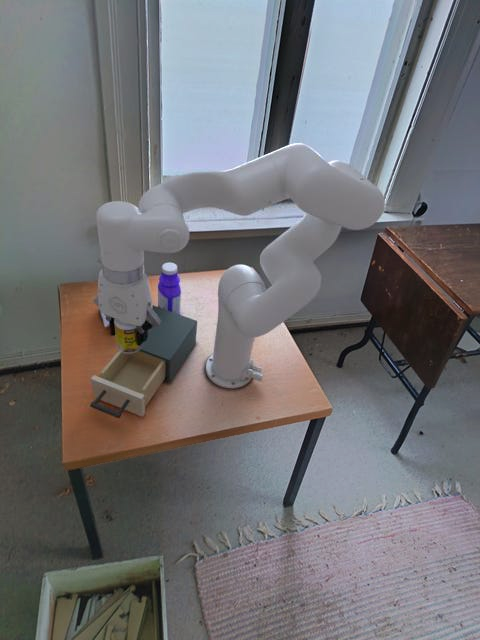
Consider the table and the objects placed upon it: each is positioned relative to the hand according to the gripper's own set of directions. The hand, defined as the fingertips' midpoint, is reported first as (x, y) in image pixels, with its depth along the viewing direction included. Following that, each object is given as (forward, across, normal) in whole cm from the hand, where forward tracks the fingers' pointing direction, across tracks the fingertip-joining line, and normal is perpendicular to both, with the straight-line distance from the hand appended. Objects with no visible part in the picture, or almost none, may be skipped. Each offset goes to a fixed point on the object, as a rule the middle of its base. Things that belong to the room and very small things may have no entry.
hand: (129, 336), depth 88 cm
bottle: (+18, -5, +28) cm, 33 cm away
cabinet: (+17, 0, +12) cm, 21 cm away
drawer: (+16, 0, -2) cm, 17 cm away
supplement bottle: (+3, 0, 0) cm, 3 cm away
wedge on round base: (+18, -17, +19) cm, 31 cm away
